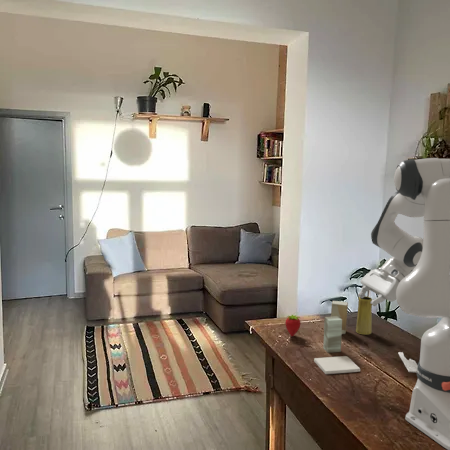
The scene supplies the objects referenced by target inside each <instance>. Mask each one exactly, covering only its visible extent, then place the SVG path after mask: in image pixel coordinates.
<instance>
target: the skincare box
mask: <svg viewBox="0 0 450 450" xmlns="http://www.w3.org/2000/svg"><path fill="white" fill-rule="evenodd" d="M348 305H349V301H348V302H347V301H341V300H340V301H338V300H332V302H331V308H330V309H331V310H330V311H331V312H330V317H332V316H338V317H339V318H340V319H342V335H346V331H347V323H348V321H347V320H348V308H349V307H348Z"/></svg>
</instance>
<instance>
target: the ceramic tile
mask: <svg viewBox="0 0 450 450" xmlns="http://www.w3.org/2000/svg"><path fill="white" fill-rule="evenodd" d="M313 359H314V360H313V362H314V363H315V364H316V365H317V366H318V368H319V369H320V370H321V371H322V372H323V373H324V374H325V375H333V374H334V375H335V374H347V373H357V372H361V368H360V367H359V366H358V365H357V364H356V363H355V362H354V361H353V360H352V359H351V358H350V357H348V356H346V355H343V356H341V355H340V356H328V357H315V358H313Z"/></svg>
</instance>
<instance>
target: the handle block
mask: <svg viewBox="0 0 450 450" xmlns="http://www.w3.org/2000/svg"><path fill="white" fill-rule="evenodd" d="M323 325H324V326H323V346H322V347H323V349H324V351H325V352H327V353H328V354H330V353H341V352H342V335H343V334H342V319H340V318H339V317H338V316H332V317H331V316H324V323H323Z"/></svg>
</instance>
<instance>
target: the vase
mask: <svg viewBox="0 0 450 450" xmlns="http://www.w3.org/2000/svg"><path fill="white" fill-rule="evenodd" d="M357 299H358V301H357V317H356V326H355V332H356V333H357V334H359V335H363V336H364V335H365V336H366V335H367V336H368V335H371V334H372V333H373V332H372V318H373V317H372V316H373V315H372V314H373V313H372V311H373V309H372V308H373V305H372V304H371V303H370V302H371V301H372V300H373V298H372V297H370V296H366V295H365V297H364V298H360V297H359V296H358V298H357Z"/></svg>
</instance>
